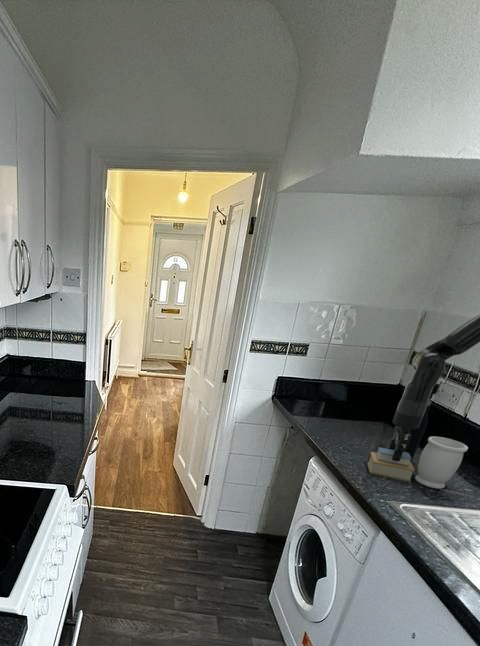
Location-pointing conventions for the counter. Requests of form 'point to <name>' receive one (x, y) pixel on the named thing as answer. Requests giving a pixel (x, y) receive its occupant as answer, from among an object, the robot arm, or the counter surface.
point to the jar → (439, 461)
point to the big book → (389, 468)
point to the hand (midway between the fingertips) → (393, 456)
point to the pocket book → (387, 456)
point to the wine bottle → (420, 428)
